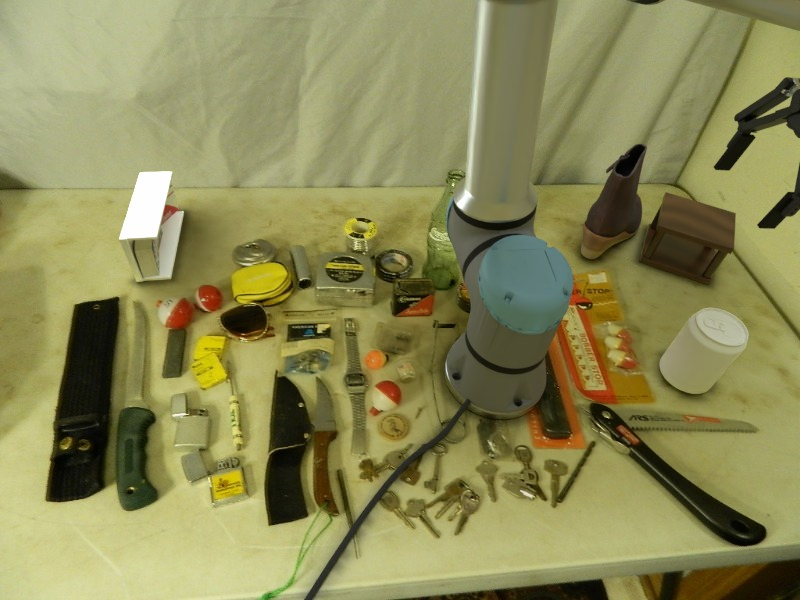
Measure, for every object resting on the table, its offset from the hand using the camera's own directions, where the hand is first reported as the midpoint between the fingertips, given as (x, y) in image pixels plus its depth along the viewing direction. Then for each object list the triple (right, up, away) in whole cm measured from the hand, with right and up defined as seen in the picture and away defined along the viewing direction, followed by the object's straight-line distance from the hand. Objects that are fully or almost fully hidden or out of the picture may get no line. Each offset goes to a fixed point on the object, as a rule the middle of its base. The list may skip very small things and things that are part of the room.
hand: (742, 196), depth 84 cm
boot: (-12, -3, +24) cm, 27 cm away
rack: (0, -7, +21) cm, 22 cm away
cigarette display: (-98, -6, +13) cm, 99 cm away
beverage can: (-9, -28, 0) cm, 30 cm away
